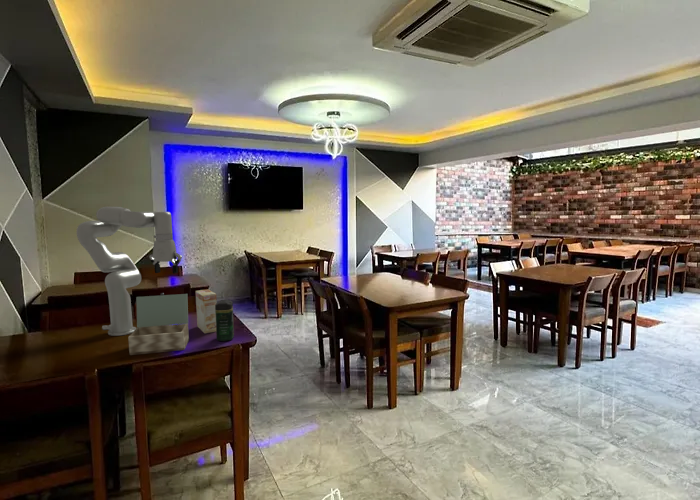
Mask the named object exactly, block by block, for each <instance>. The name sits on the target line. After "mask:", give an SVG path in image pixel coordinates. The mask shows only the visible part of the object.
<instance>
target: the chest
mask: <svg viewBox="0 0 700 500" xmlns="http://www.w3.org/2000/svg"><path fill="white" fill-rule="evenodd" d="M189 341H190V337H189V323H187V324H174V325H162V326H150V327H138V328H137V327H136V329H135V331H134V332H133V333H130V334H129V336H128V351H129V355H130V356H135V355H146V354H157V353H167V352H176V351H185V349H186V347H187V345H188V343H189Z"/></svg>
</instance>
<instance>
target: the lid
mask: <svg viewBox="0 0 700 500" xmlns="http://www.w3.org/2000/svg"><path fill="white" fill-rule="evenodd" d="M135 298H136V299H135V300H136V301H135V302H136V328H140V327H152V326H165V325H177V324H189V310H188V309H189V308H188V307H189V305H188V304H189V303H188V293H181V294H180V293H179V294H165V293H164V292H161V293H160V295H149V296H148V295H147V296H136V297H135Z"/></svg>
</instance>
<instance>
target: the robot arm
mask: <svg viewBox="0 0 700 500" xmlns="http://www.w3.org/2000/svg"><path fill="white" fill-rule="evenodd" d="M96 218H97V220H87V221H83V222H81V223H79V224H78V226H77V227H76V238H77V240H78V242H79V243H80V245H81V246H82V247H83V249H85V250H86V252H87V253H88V255H89V256H90V258H91V259H92V261H93V262H94V264H95V265H96V267H97V268H98V269H99V271H100V272H102V273H108V274H107V275H106V276H105V278H104V284H105V288H106V291H107V296H108V304H109V307H108V308H109V317H110V319H109V320H110V324H109V325H102V327H101V330H102V331H107V334H108V335H109V336H112V337H113V336H114V337H117V336H126V335H131V334H132V333H133V332H134V331H135V329H136V328H137V326H134V325H133V315H132V314H133V313H132V303H131V302H132V300H131V299H132V298H131V295H130V293H129V291H128V290H127V289H129V288H132V287H136V286H138V285H139V284H140V283H141V282H142V274H141V272H140V270H139V269H138V268H137V266H136V264H135V263H134V261H133V260H132V259H131V257H130V256H129V255H128V254H127V253H126V252H123V251H118V252H112V251H111V250H110V249H109V248H108V246H107V245H106V243H104V242H103V241H102V240H100V239H98V238H104V237H111V236H113V235H115V234H116V233H117V232H118V231H119V230H120V229H121V228H122V226H123V227H127V228H134V229H135V228H136V229H137V228H138V229H143V228H154V233H155V234H154V235H153V238H154V239H155V240H153V246H152V254H150V255H148V257H149V260H150V261H151V263H152V265H154V273H155V274H158V273H159V274H160V273H161V272H162V271H161V264H160V263H161V262H162V263H163V262H165V263H166V262H170V263H172V266H171V268H172V274H173V275H174V274H178V273H179V264H180V263H181V262H182V258H183V256H182V254H180V253H179V252H177V248H176V241H175V240H174V235H173V221H172V219H173V218H172V213H171V212H170V211H131V209H130V208H126V207H122V206H103V207H100V208H99V209H97V211H96Z"/></svg>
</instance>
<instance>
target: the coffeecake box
mask: <svg viewBox="0 0 700 500" xmlns="http://www.w3.org/2000/svg"><path fill="white" fill-rule="evenodd" d="M216 303H217V293H215V292H214V291H211V290H210V289H200V290H195V305H196V307H195V308H196V323H197V325H196V326H197V328H199V329H200V331H201V332H203V333H204V334H209V333H216V313H215V305H216Z"/></svg>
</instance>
